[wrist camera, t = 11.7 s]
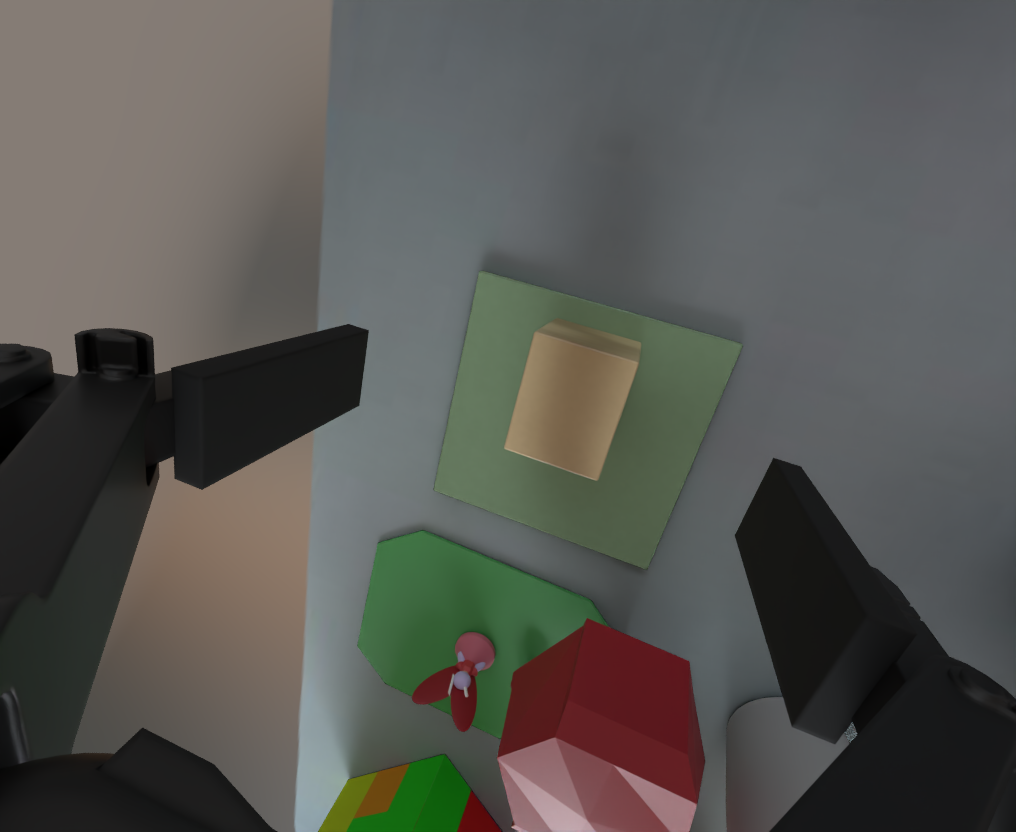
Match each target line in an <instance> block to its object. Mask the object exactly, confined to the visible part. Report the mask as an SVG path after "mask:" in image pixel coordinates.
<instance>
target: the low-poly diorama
mask: <svg viewBox="0 0 1016 832" xmlns="http://www.w3.org/2000/svg"><path fill="white" fill-rule="evenodd" d="M357 646H358V648H359V649H360V650H361V652H362V653H363V654H364V656H365V657H366V658H367V660H368V661H369V662H370V664H371V665H372V666H373V668H374V669H375V670H376V672H377V673H378V675H379V676H380V677H381V679H382V680H383V681H384V683H385V684H387V685H389V686H391V687H393V688H395V689H397V690H400V691H402V692H404V693H406V694H408V695H410V696H412V700H413V702H414V703H416V704H429V705H431V706H433V707H435V708H437V709H439V710H441V711H443V712H445V713H447V714H449V715H451V716H452V717H453V720H454V723H455V725H456V727H457V729H458V730H459V731H461V732H465V731H467V730H468V729H469V728H470V726H471V725H472V726H474V727H476V728H478V729H480V730H483V731H485V732H487V733H489V734H491V735H493V736H495V737H497V738H499V739H501V742H500V746H499V751H498V756H497V760H498V763H499V767H500V771H501V775H502V779H503V783H504V787H505V790H506V794H507V798H508V802H509V806H510V810H511V814H512V817H513V822H512V827H511V828H513V829H515V830H517V831H519V832H690V828H691V825H692V821H693V818H694V814H695V810H696V807H697V803H698V797H699V792H700V786H701V781H702V776H703V770H704V765H705V757H704V752H703V746H702V740H701V734H700V729H699V723H698V717H697V712H696V706H695V700H694V694H693V687H692V679H691V671H690V663H689V661H687V660H685V659H683V658H680V657H678V656H676V655H673V654H671V653H669V652H666V651H664V650H661V649H659V648H657V647H654V646H652V645H650V644H647V643H645V642H643V641H640V640H638V639H636V638H633V637H631V636H628V635H626V634H624V633H621V632H619V631H617V630H614V629H612V628H610V627H609V626H608V625H607V623H606V622H605V620H604V619H603V617H602V616H601V614H600V613H599V611H598V610H597V608H596V607H595V605H594V604H593V602H592V601H591V600H590V599H587V598H585V597H582V596H580V595H578V594H575V593H573V592H571V591H568V590H566V589H563V588H561V587H559V586H556V585H554V584H551V583H549V582H547V581H544V580H542V579H539V578H537V577H535V576H532V575H530V574H527V573H525V572H523V571H520V570H518V569H515V568H513V567H511V566H508V565H506V564H503V563H501V562H499V561H496V560H494V559H491V558H489V557H487V556H484V555H482V554H479V553H477V552H475V551H472V550H470V549H467V548H465V547H463V546H460V545H458V544H455V543H453V542H451V541H448V540H446V539H443V538H441V537H439V536H436V535H434V534H431V533H429V532H427V531H424V530H421V531H418V532H414V533H410V534H407V535H403V536H400V537H396V538H393V539H389V540H386V541H382V542H379V543H378V545H377V550H376V555H375V560H374V565H373V570H372V575H371V580H370V585H369V590H368V595H367V600H366V605H365V610H364V615H363V620H362V625H361V630H360V635H359V640H358V645H357Z"/></svg>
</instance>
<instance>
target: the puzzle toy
mask: <svg viewBox="0 0 1016 832" xmlns="http://www.w3.org/2000/svg"><path fill="white" fill-rule="evenodd" d="M318 832H502V831H501V830H500V828H499V827H498V825H497V824H496V823H495V821H494V820H493V819H492V817H491V816H490V815H489V813H488V812H487V811H486V809H485V808H484V806H483V805H482V804H481V802H480V801H479V800H478V798H477V797H476V796H475V794H474V793H473V791H472V790H471V789H470V787H469V786H468V785H467V783H466V782H465V781H464V779H463V778H462V777H461V775H460V774H459V772H458V771H457V770H456V768H455V767H454V766H453V764H452V763H451V762H450V760H449V759H448V758H447V756H446V755H445V754H443V755H439V756H435V757H432V758H428V759H424V760H420V761H416V762H413V763H409V764H405V765H401V766H397V767H394V768H390V769H386V770H382V771H378V772H375V773H371V774H367V775H363V776H359V777H356V778H352V779H348V781H347V783H346V784H345V786H344V788H343V790H342V791H341V793H340V795H339V796H338V798H337V800H336V802H335V803H334V805H333V807H332V808H331V810H330V812H329V814H328V815H327V817H326V819H325V820H324V822H323V824H322V826H321V827H320V829H319V831H318Z"/></svg>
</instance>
